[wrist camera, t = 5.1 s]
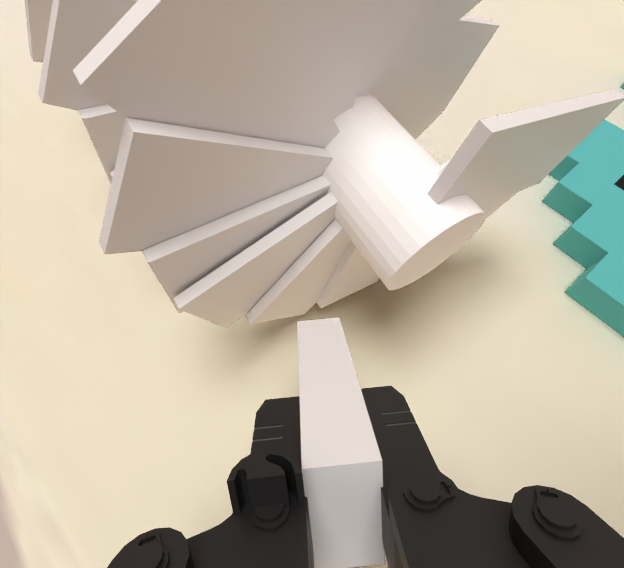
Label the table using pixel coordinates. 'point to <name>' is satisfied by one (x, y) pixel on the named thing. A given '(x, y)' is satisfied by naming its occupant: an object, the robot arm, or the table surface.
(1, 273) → the table surface
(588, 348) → the table surface
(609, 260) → the alien figure
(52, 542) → the table surface
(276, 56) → the spiral staircase
